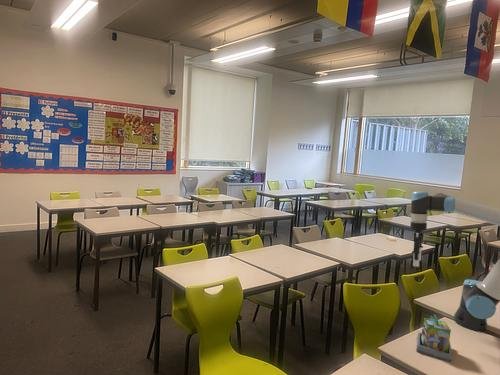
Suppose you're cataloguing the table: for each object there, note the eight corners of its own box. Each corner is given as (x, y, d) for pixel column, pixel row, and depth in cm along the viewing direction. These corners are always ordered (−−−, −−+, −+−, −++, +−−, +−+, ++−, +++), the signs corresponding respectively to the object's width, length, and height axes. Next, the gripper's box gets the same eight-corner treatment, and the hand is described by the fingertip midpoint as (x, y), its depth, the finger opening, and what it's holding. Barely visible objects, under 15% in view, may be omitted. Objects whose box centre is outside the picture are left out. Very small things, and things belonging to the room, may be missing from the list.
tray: (448, 347, 167) (449, 341, 167) (450, 361, 155) (451, 355, 155) (417, 338, 173) (418, 332, 172) (416, 351, 161) (417, 345, 160)
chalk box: (447, 355, 158) (453, 323, 156) (424, 351, 160) (429, 319, 158) (441, 344, 167) (446, 313, 165) (419, 340, 169) (424, 310, 167)
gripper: (412, 218, 200) (411, 257, 201) (408, 224, 178) (406, 267, 179) (428, 219, 196) (426, 258, 197) (425, 225, 174) (423, 270, 175)
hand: (417, 263), depth 188 cm, fingers open, 13 cm apart
